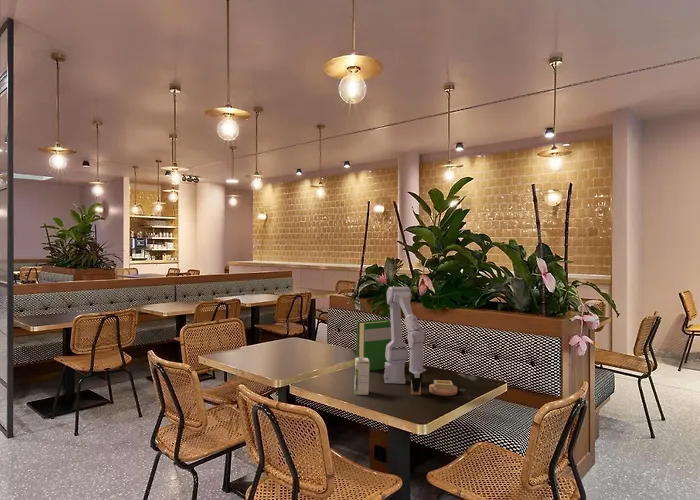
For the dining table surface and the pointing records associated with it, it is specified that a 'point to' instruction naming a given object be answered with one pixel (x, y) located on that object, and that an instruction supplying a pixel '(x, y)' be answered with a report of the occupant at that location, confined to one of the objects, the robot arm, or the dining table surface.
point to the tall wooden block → (415, 392)
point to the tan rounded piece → (443, 388)
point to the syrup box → (361, 376)
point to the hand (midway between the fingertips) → (415, 390)
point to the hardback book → (373, 341)
